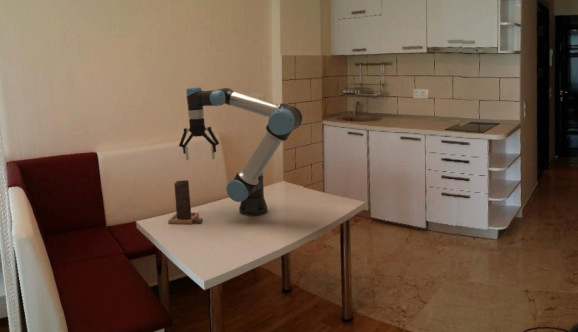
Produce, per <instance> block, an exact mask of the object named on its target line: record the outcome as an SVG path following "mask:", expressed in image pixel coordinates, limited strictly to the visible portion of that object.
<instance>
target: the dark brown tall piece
mask: <svg viewBox="0 0 578 332" xmlns="http://www.w3.org/2000/svg"><path fill="white" fill-rule="evenodd" d="M174 197H175V198H174V199H175V210H176V212H175V214H176V213H177V218H178V219H188V218H191V212H192V210H191V208H192V206H191V196H190V184H189V180H188V179H186V180H177V181H175V182H174Z"/></svg>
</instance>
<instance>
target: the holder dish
mask: <svg viewBox="0 0 578 332" xmlns="http://www.w3.org/2000/svg"><path fill="white" fill-rule="evenodd" d="M193 218H200V212H192V211H191V218H188V219H178V218H177V213H176V212H175V214H173V215H172V216H171V217H170V218H169V219H168V221H167V222H168V225H193V224H192V219H193Z"/></svg>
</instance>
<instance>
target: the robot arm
mask: <svg viewBox="0 0 578 332" xmlns="http://www.w3.org/2000/svg"><path fill="white" fill-rule="evenodd" d="M185 92H186V103H187V110H188V112H187V113H188V118H189V120H188V122H189V123H188V124H189V127H184V128H183V134H182V136H181V139H180V141H179V145H178V147H181V148H182V152H183V155H185V161H188V160H189V159H190V156H189V148H188V144H189V143H190V141H191V140H192V139H193V137H195V138H196V137H203V138H205V140H206V141H207V142H208V143H210V145H211V146H210V150H211V159H212V160H215V158H216V157H215V155H216V154H215V153H216V152H217V148H216V147H217V146H218V145H219V144H220V142H219V140H218V139H217V137H216V135H215V134H214V131H213V130H212V126H207V127H206V125H205V123H206V122H205V118H204V116H205V114H204V107H214V106H215V107H217V106H223V105H228V106H231V107H233V108H234V107H235V108H237V109H241V110H244V111H248V112H251V113H253V114H257V115H260V116H263V117H267V118H268V120H267V125H266V126H265V132H266V133H265V134H264V136H263V137H262V139H261V140H260V141H259V143H258V144H257V146H256V148H255V150H254V151H253V153H251V156H250V157H249V159H248V161H247V162H246V164H245V166H244V167H243V169H242V168H241V169H239V170H238V171H237V172H236V174H235V176H234V177H233V178H232V179H231V180H230V181H229V182H228V183H227V185H226V193H227V195H228V197H229V198H230V199H231V200H232V201H233V202H237V203H240V204H239V207H238V208H239V209H238V211H239V212H238V213H239V214H240V215H244V216H249V217H251V216H253V217H254V216H261V215H264V214H267V212H268V209H269V208H268V205H267V202H266V200H265V199H266V198H265V196H264V195H265V193H264V189H265V188H264V172H263V171H264V169H265V168H266V166H267V165H268V164H269V162H270V160H271V159H272V157H273V155H275V152H276V151H277V149H278V147H280V145H281V143H282V142H287V140H288V138H289V136H290V135H291V134H292V132H293V131H294V130H296V129H298V128H299V127H300V126H301V125H302V122H303V114H302V111H301V110H300V109H299V108H298V107H296V106H293V105H289V104H286V103H282V102H281V103H274V102H272V101H268V100H265V99H262V98H258V97H255V96H251V95H249V94H245V93H241V92H238V91H234V90H233V89H232V88H229V87H223V88H218V89H214V90H213V89H211V90H203V89H202V87H200V86H192V87H191V86H190V87H187V88H186V91H185ZM206 131H207V132H208V133H209V135H207V133H206ZM188 133H190V135H189V136H188V138H187V137H186V136H187V134H188ZM186 138H187V139H186Z"/></svg>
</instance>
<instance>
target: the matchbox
mask: <svg viewBox="0 0 578 332" xmlns="http://www.w3.org/2000/svg"><path fill="white" fill-rule="evenodd" d="M202 224H203V218H202V217H201V218H200V217H198V218H193V219H192V224H191V225H202Z"/></svg>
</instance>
